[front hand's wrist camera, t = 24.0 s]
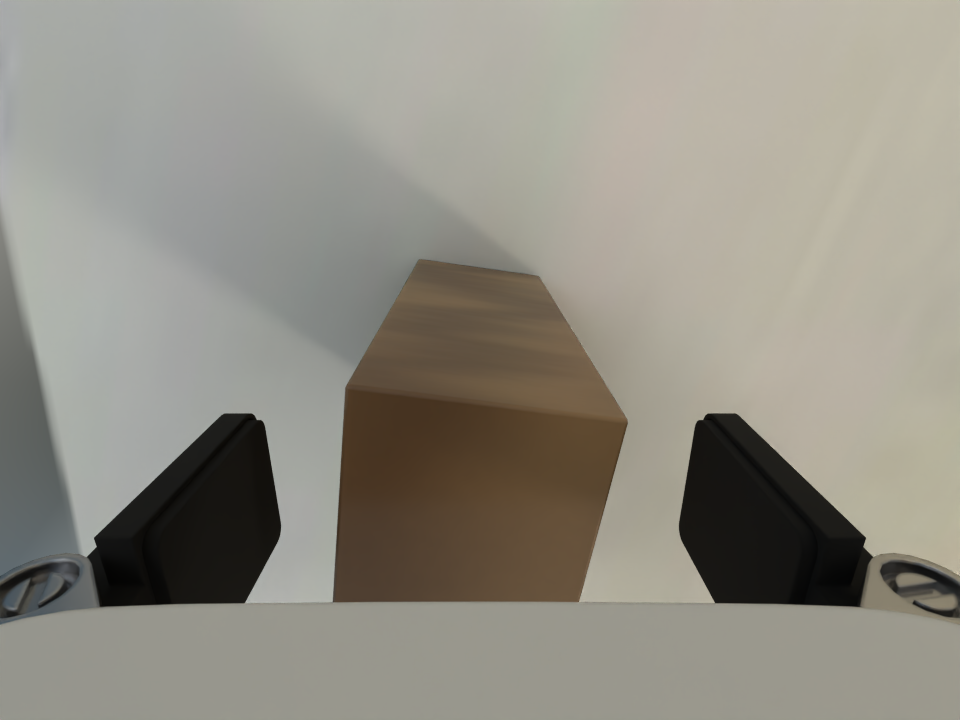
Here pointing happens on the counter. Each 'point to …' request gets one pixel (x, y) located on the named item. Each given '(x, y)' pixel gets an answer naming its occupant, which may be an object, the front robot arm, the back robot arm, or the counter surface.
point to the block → (473, 447)
